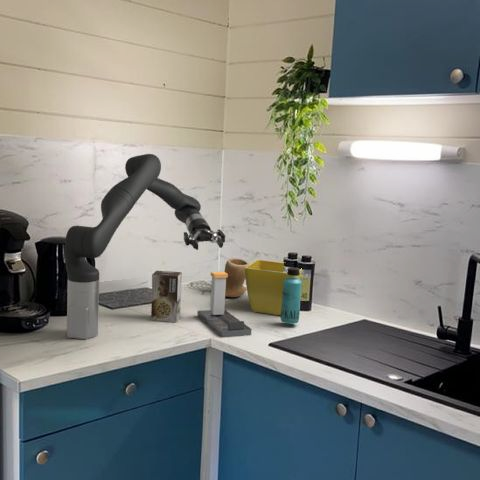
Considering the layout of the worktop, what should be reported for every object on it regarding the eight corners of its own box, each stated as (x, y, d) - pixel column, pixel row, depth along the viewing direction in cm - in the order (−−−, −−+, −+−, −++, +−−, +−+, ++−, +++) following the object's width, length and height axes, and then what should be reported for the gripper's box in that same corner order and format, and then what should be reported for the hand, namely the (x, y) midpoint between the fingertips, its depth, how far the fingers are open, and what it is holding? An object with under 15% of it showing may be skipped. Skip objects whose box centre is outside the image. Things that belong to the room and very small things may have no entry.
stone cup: (241, 301, 236) (243, 263, 233) (213, 296, 240) (215, 259, 237) (253, 293, 250) (256, 257, 248) (227, 289, 254) (229, 254, 252)
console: (251, 335, 193) (252, 321, 193) (222, 337, 189) (222, 323, 189) (223, 314, 215) (224, 302, 214) (197, 316, 211) (197, 303, 210)
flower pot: (302, 307, 232) (305, 264, 229) (292, 320, 214) (296, 273, 211) (254, 301, 237) (257, 259, 234) (241, 313, 219) (244, 267, 216)
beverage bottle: (286, 321, 211) (290, 265, 208) (302, 325, 207) (307, 268, 204) (276, 325, 206) (280, 267, 203) (292, 329, 202) (297, 271, 199)
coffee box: (180, 317, 208) (182, 271, 206) (176, 322, 202) (178, 275, 199) (154, 315, 209) (156, 269, 207) (150, 320, 203) (151, 273, 200)
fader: (225, 314, 207) (227, 274, 204) (212, 315, 205) (214, 274, 203) (221, 311, 210) (223, 271, 208) (208, 312, 208) (210, 272, 206)
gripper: (179, 219, 218) (189, 238, 204) (216, 216, 222) (229, 235, 209) (178, 237, 221) (189, 258, 208) (216, 234, 226) (228, 254, 212)
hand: (209, 246), depth 208 cm, fingers open, 8 cm apart
